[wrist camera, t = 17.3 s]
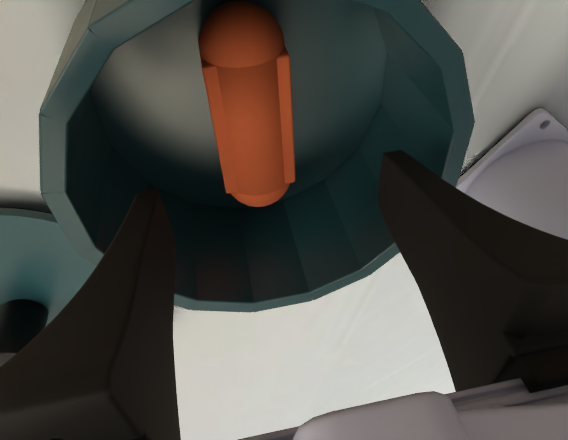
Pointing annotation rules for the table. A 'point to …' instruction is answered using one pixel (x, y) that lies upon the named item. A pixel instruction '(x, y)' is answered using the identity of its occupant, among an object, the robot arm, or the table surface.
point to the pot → (204, 154)
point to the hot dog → (249, 100)
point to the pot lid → (34, 276)
